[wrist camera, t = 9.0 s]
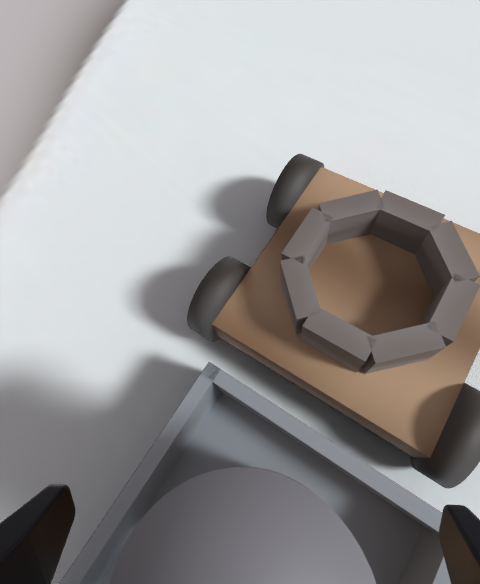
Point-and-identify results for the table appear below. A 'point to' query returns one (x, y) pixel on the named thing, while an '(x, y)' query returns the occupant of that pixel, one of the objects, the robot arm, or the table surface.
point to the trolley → (361, 312)
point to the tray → (279, 458)
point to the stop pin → (241, 535)
